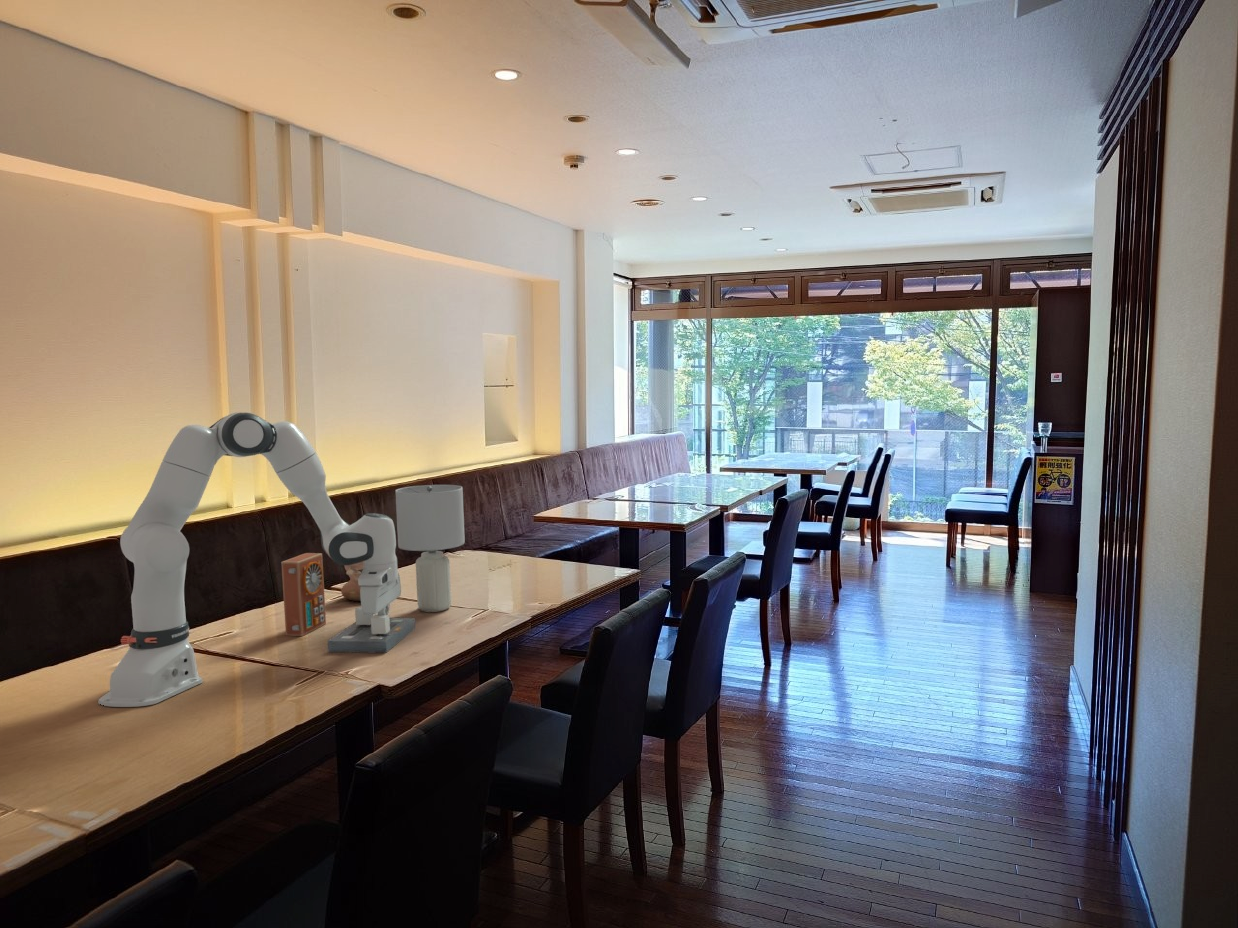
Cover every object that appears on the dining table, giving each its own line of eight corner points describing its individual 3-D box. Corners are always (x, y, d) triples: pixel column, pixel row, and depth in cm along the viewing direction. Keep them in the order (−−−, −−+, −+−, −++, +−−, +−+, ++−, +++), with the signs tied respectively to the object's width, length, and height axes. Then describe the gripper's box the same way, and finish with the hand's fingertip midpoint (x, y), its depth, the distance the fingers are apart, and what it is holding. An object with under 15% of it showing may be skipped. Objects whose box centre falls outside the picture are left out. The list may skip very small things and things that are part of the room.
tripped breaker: (385, 633, 224) (385, 617, 224) (371, 633, 225) (370, 617, 224) (390, 630, 227) (389, 614, 227) (375, 630, 228) (375, 614, 227)
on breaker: (369, 624, 234) (368, 609, 233) (355, 624, 234) (355, 609, 234) (373, 621, 237) (372, 606, 236) (360, 621, 237) (359, 606, 237)
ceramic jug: (370, 606, 267) (367, 562, 266) (330, 603, 271) (328, 561, 270) (398, 592, 285) (396, 551, 283) (361, 590, 288) (359, 550, 287)
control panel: (330, 622, 249) (302, 637, 235) (309, 621, 251) (280, 636, 236) (326, 552, 247) (297, 563, 233) (305, 551, 249) (275, 562, 234)
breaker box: (386, 652, 220) (386, 641, 219) (328, 652, 221) (327, 640, 221) (415, 628, 241) (414, 617, 241) (361, 627, 243) (361, 617, 243)
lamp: (430, 621, 248) (424, 492, 244) (387, 611, 260) (381, 488, 257) (480, 606, 264) (475, 484, 260) (438, 597, 276) (433, 481, 273)
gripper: (383, 563, 238) (386, 610, 240) (355, 580, 218) (358, 632, 219) (405, 563, 238) (407, 610, 239) (378, 580, 217) (381, 632, 219)
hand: (383, 621), depth 229 cm, fingers closed
